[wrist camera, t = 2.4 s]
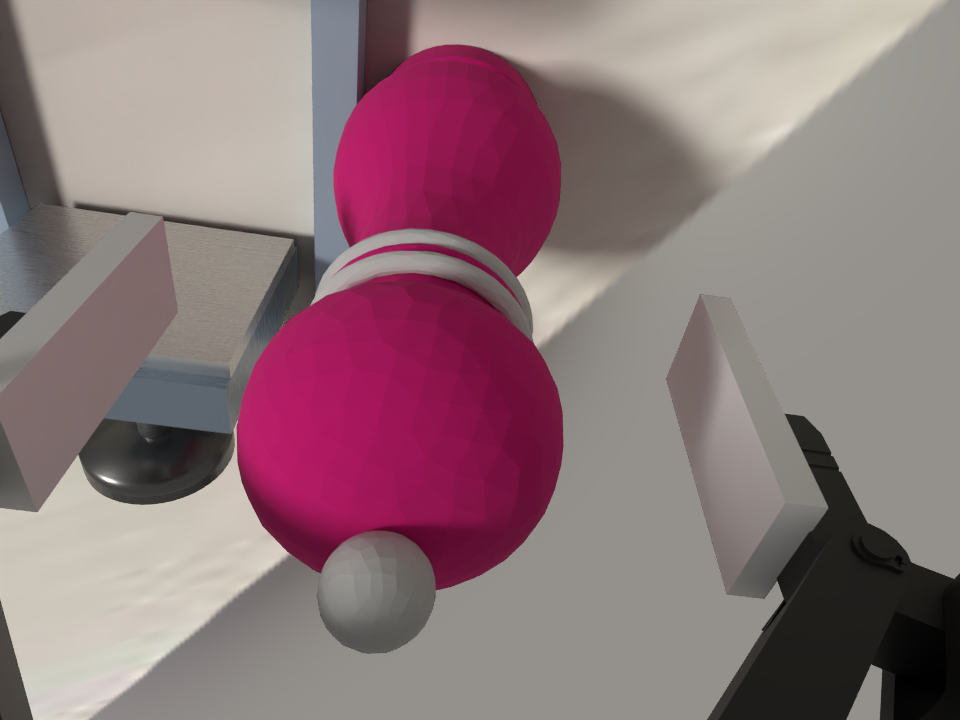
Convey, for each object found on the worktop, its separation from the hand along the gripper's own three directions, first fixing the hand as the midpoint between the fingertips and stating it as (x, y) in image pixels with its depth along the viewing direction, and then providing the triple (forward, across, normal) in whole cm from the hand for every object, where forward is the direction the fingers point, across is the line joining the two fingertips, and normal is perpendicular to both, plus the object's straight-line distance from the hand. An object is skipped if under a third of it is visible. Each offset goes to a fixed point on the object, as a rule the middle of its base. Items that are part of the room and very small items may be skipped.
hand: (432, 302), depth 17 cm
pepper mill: (+11, 0, 0) cm, 11 cm away
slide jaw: (+11, -11, -9) cm, 18 cm away
